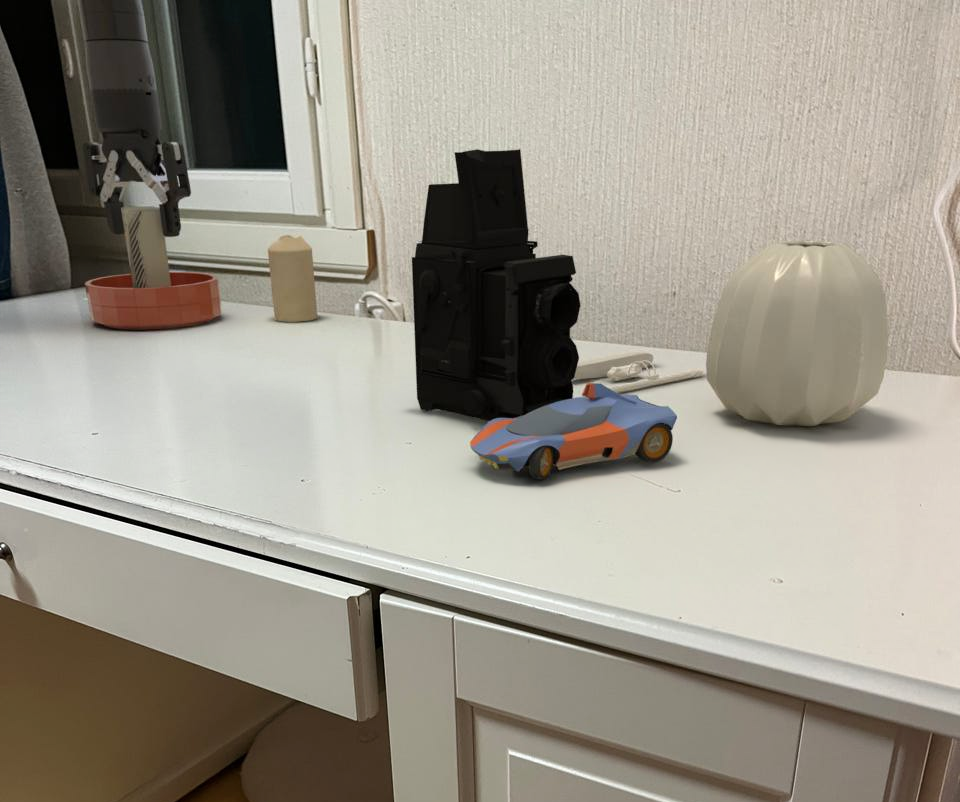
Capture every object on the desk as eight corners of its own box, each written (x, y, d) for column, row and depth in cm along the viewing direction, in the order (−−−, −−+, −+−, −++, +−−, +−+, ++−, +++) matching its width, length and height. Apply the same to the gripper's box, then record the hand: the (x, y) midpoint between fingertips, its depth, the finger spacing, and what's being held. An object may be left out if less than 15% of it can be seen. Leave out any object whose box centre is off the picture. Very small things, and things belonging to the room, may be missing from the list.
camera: (521, 441, 76) (524, 150, 67) (403, 411, 84) (391, 149, 75) (600, 416, 82) (613, 148, 73) (483, 391, 91) (482, 147, 82)
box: (136, 313, 129) (118, 206, 123) (170, 311, 131) (155, 205, 125) (141, 319, 125) (124, 209, 119) (177, 317, 126) (161, 208, 121)
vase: (867, 401, 86) (895, 236, 80) (879, 443, 74) (913, 254, 68) (707, 392, 90) (722, 234, 84) (694, 432, 78) (711, 251, 72)
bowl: (64, 326, 125) (56, 284, 122) (154, 307, 138) (148, 269, 135) (163, 335, 118) (157, 291, 116) (247, 314, 131) (243, 275, 129)
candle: (271, 316, 130) (262, 235, 125) (312, 314, 131) (305, 233, 127) (278, 323, 125) (270, 238, 120) (321, 320, 127) (315, 236, 122)
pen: (548, 384, 93) (548, 366, 92) (645, 363, 101) (646, 347, 100) (559, 387, 92) (560, 369, 91) (657, 365, 100) (658, 349, 99)
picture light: (600, 397, 88) (601, 373, 87) (567, 389, 91) (568, 366, 90) (705, 376, 96) (707, 354, 95) (671, 368, 99) (673, 347, 98)
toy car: (451, 459, 72) (449, 386, 69) (622, 433, 78) (626, 364, 75) (503, 491, 65) (503, 410, 63) (685, 459, 71) (692, 385, 69)
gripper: (54, 87, 116) (80, 236, 123) (147, 84, 110) (169, 240, 118) (101, 89, 122) (124, 231, 129) (192, 86, 116) (210, 234, 124)
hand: (145, 235), depth 123 cm, fingers open, 8 cm apart
